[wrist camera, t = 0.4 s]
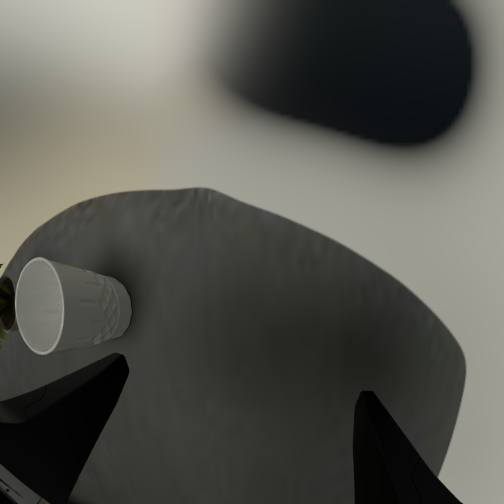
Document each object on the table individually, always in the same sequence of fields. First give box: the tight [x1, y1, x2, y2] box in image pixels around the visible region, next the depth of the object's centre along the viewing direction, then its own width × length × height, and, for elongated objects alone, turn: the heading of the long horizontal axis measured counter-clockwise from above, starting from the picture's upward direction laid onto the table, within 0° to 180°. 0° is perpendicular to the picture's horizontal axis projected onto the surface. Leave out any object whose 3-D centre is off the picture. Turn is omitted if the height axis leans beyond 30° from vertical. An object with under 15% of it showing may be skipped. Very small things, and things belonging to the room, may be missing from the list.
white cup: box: [15, 257, 132, 355], centre depth 22 cm, size 8×8×10 cm
